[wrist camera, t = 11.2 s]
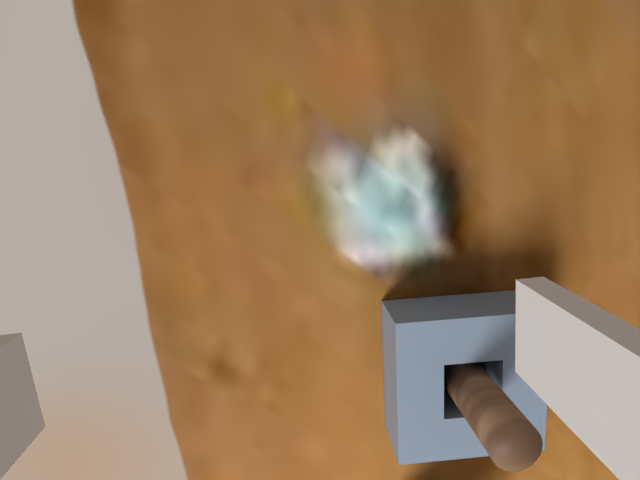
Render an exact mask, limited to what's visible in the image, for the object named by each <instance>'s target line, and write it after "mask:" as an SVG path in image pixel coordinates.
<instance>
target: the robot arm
mask: <svg viewBox="0 0 640 480" xmlns="http://www.w3.org/2000/svg"><path fill="white" fill-rule="evenodd" d="M515 372H516V373H517V374H518V375H519V376H520V377H521V378H522V379H523V380H524V381H525V382H526V383H527V384H528V385H529V386H530V388H531V389H532V390H533V391H534V392H535V393H536V394H537V395H538V396H539V397H540V398H541V399H542V400H543V401H544V402H545V403H546V404H547V405H548V406H549V407H550V408H551V409H552V410H553V411H554V412H555V413H556V414H557V416H558V417H559V418H560V419H561V420H562V421H563V422H564V423H565V424H566V425H567V426H568V427H569V428H570V429H571V430H572V431H573V432H574V433H575V434H576V435H577V436H578V437H579V438H580V439H581V440H582V441H583V443H584V444H585V445H586V446H587V447H588V448H589V449H590V450H591V451H592V452H593V453H594V454H595V455H596V456H597V457H598V458H599V459H600V460H601V461H602V462H603V463H604V464H605V465H606V466H607V467H608V468H609V470H610V471H611V472H612V473H613V474H614V475H615V476H616V477H617V478H618V479H619V480H640V329H638V328H636V327H635V326H633V325H631V324H629V323H627V322H626V321H624V320H622V319H620V318H618V317H616V316H615V315H613V314H611V313H609V312H607V311H605V310H604V309H602V308H600V307H598V306H596V305H594V304H593V303H591V302H589V301H587V300H585V299H583V298H582V297H580V296H578V295H576V294H574V293H572V292H571V291H569V290H567V289H565V288H563V287H562V286H560V285H558V284H556V283H554V282H552V281H551V280H549V279H547V278H545V277H534V278H525V279H516V329H515ZM44 427H45V424H44V420H43V416H42V412H41V408H40V404H39V400H38V397H37V392H36V388H35V384H34V381H33V377H32V373H31V369H30V365H29V361H28V357H27V353H26V349H25V345H24V341H23V337H22V333H17V334H8V335H0V479H1V478H2V477H3V476H4V474H5V473H6V472H7V471H8V470H9V468H10V467H11V466H12V465H13V464H14V463H15V461H16V460H17V459H18V458H19V457H20V456H21V454H22V453H23V452H24V451H25V450H26V449H27V447H28V446H29V445H30V444H31V443H32V441H33V440H34V439H35V438H36V437H37V435H38V434H39V433H40V432H41V431H42V430H43V429H44Z"/></svg>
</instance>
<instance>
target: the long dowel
mask: <svg viewBox="0 0 640 480" xmlns="http://www.w3.org/2000/svg"><path fill="white" fill-rule="evenodd" d="M444 387H445V388H446V390H447V392H448V393H449V395H450V396H451V398H452V399H453V401H454V402H455V404H456V405H457V407H458V409H459V410H460V412H461V413H462V415H463V416H464V418H465V419H466V421H467V422H468V424H469V425H470V427H471V429H472V430H473V432H474V433H475V435H476V436H477V438H478V439H479V441H480V442H481V444H482V446H483V447H484V449H485V450H486V452H487V453H488V455H489V456H490V458H491V459H492V461H493V462H494V464H495V465H496V466H497V467H499V468H500V469H502V470H505V471H511V472H513V471H520V470H523V469H526V468H528V467H529V466H531V465H532V464H533V463H534V462H535V461H536V460H537V459H538V457H539V456H540V454H541V451H542V447H543V441H542V437H541V435H540V433H539V432H538V430H537V429H536V428H535V427H534V426H533V425H532V424H531V422H530V421H529V420H528V419H527V418H526V417H525V416H524V414H523V413H522V412H521V411H520V410H519V409H518V408H517V406H516V405H515V404H514V403H513V402H512V401H511V400H510V398H509V397H508V396H507V395H506V394H505V393H504V392H503V390H502V389H501V388H500V387H499V386H498V385H497V384H496V382H495V381H494V380H493V379H492V378H491V377H490V376H489V374H488V373H487V372H486V371H485V370H484V369H483V368H482V366H481V365H480V364H479V363H478V362H475V363H464V364H452V365H444Z"/></svg>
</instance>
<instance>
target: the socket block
mask: <svg viewBox="0 0 640 480" xmlns="http://www.w3.org/2000/svg"><path fill="white" fill-rule="evenodd" d="M381 305H382V338H383V371H384V403H385V427H386V430H387V433H388V436H389V439H390V441H391V444H392V447H393V450H394V453H395V456H396V459H397V462H398V464H399V465H404V464H414V463H424V462H434V461H444V460H455V459H465V458H475V457H485V456H489V455H488V453H487V452H486V450H485V449H484V447H483V446H482V444H481V442H480V441H479V439H478V438H477V436H476V435H475V433H474V432H473V430H472V429H471V427H470V425H469V424H468V422H467V421H466V419H465V418H464V416H463V415H462V413H461V412H460V410H459V409H458V407H457V405H456V404H455V402H454V401H453V399H452V398H451V396H450V395H449V393H448V392H447V390H446V388H445V387H444V365H452V364H464V363H475V362H478V363H479V364H480V365H481V366H482V368H483V369H484V370H485V371H486V372H487V373H488V374H489V376H490V377H491V378H492V379H493V380H494V381H495V382H496V384H497V385H498V386H499V387H500V388H501V389H502V390H503V392H504V393H505V394H506V395H507V396H508V397H509V398H510V400H511V401H512V402H513V403H514V404H515V405H516V406H517V408H518V409H519V410H520V411H521V412H522V413H523V414H524V416H525V417H526V418H527V419H528V420H529V421H530V422H531V424H532V425H533V426H534V427H535V428H536V429H537V430H538V432H539V433H540V435H541V437H542V441H543V447H542V451H545V432H546V412H547V404H546V403H545V402H544V401H543V400H542V399H541V398H540V397H539V396H538V395H537V394H536V393H535V392H534V391H533V390H532V389H531V388H530V386H529V385H528V384H527V383H526V382H525V381H524V380H523V379H522V378H521V377H520V376H519V375H518V374H517V373H516V372H515V329H516V290H510V291H497V292H484V293H472V294H459V295H446V296H434V297H421V298H408V299H395V300H383V301H381Z"/></svg>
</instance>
